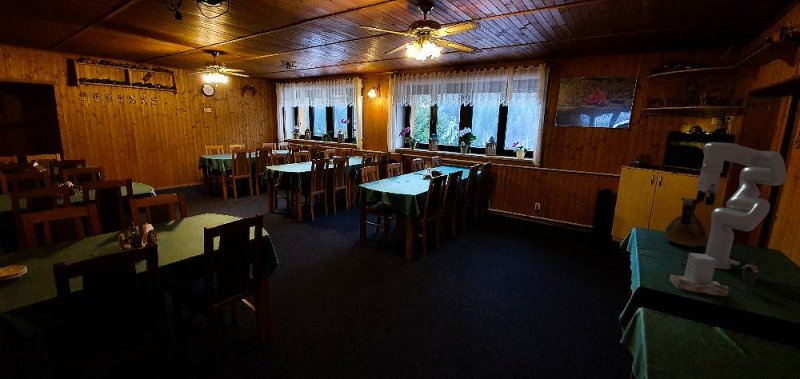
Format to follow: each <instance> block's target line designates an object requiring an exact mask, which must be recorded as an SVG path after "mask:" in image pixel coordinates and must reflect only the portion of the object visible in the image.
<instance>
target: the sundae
mask: <svg viewBox="0 0 800 379" xmlns="http://www.w3.org/2000/svg"><path fill="white" fill-rule="evenodd" d="M755 261H756V258H753V261H751V262H749V263H747V264H746V265H744V266H741V267H740V268H741V269H742V280H743V281H744V282H745V285H744V286H739V287H738V289H739V290H741V291H743V292H746V293H754V290H753V289H751V288H750V285H751V284H753V283H755V282H756V280H757V279H758V276H759V275H760V274H762V271H761V269H759V268H758V266H757V264H756V263H755Z"/></svg>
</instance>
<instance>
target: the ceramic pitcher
mask: <svg viewBox="0 0 800 379" xmlns="http://www.w3.org/2000/svg"><path fill="white" fill-rule="evenodd" d="M680 200H681V201H682V207H681V209H682V210H681V215H679V216H676V217H674V218H672V220H671V221H670V222H669V223H668V225H667V226H666V228H665V230H664V237H665V239H666V240H668V241H670V242H673V243H675V244H679V245H682V246H683V247H684V246H685V247H689V248H690V247H691V248H696V247H700V246H703V245H704V243H705V242H706V237H707V236H706V235H707V233H706V228H705V225H704V224H703V223H702V221H701V220H700V219H699V218H697V216H696V209H697V207H698V205H699V204H700V203H702V202H703V201H698V200H696V198H688V197H680Z"/></svg>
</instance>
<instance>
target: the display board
mask: <svg viewBox="0 0 800 379" xmlns="http://www.w3.org/2000/svg"><path fill="white" fill-rule="evenodd" d="M669 276H670V277H669V280H670V282H671V283H672V284H673V285H674V287H675V288H676V289H678V290H684V291H689V292H695V293H703V294H707V295H708V294H709V295H715V296H719V295H720V296H721V297H725V296H726V297H728V293H729V289H730V287H729V286H727V285H721V284H720V283H719V282H718V281H714V280H712V282H711V284H709V283H703V282H696V281H690V280H687V279H686V278H685V277H684V275H682V276H681V275H676V274H675V275H674V274H670V275H669Z"/></svg>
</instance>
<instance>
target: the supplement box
mask: <svg viewBox="0 0 800 379" xmlns="http://www.w3.org/2000/svg"><path fill="white" fill-rule="evenodd" d="M687 256H688V257H687V260H686V261H687V263H686V266H685V271H684V275H683V277H685V278H686V279H687V280H690V281H696V282H703V283H709V284H711V282H712V281H713V277H714V272H715V269H716V268H715V265H716V260H715V259H713V258H712V257H710V256H708V255H706V254H705V253H694V252H689V253H688V255H687Z"/></svg>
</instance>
